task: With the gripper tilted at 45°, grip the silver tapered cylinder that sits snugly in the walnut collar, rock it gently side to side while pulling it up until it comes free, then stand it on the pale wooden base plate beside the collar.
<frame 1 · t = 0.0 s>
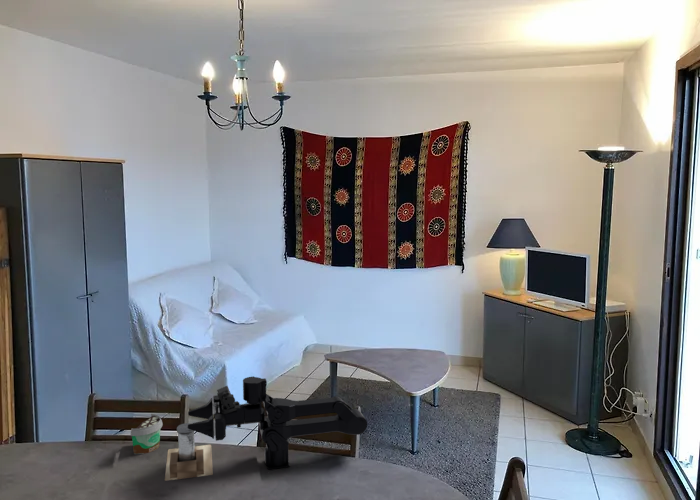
hand: (188, 419, 161), 17 cm above the table, tool horizontal, fingers open, 9 cm apart
food container: (151, 452, 177), on the table
silver tapered cylinder: (187, 469, 163), point 1 cm above the table, touching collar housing
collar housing: (187, 474, 163), on the table
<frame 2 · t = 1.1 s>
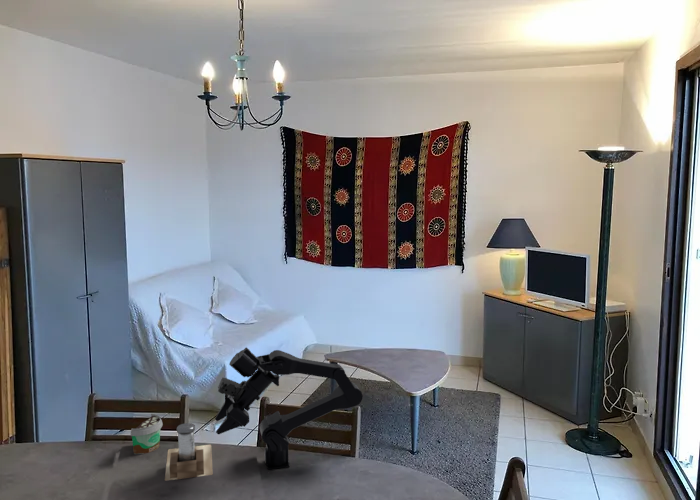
hand: (216, 426, 164), 14 cm above the table, tool tilted 45°, fingers open, 9 cm apart
nothing on the table moved.
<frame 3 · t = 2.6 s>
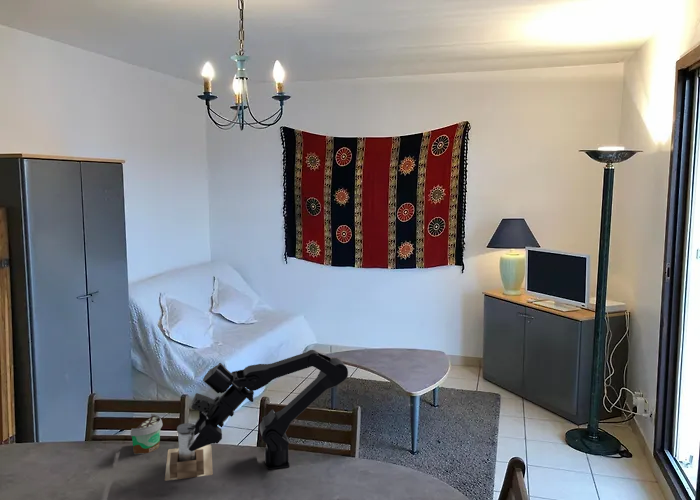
hand: (190, 442, 162), 10 cm above the table, tool tilted 45°, fingers open, 9 cm apart
nothing on the table moved.
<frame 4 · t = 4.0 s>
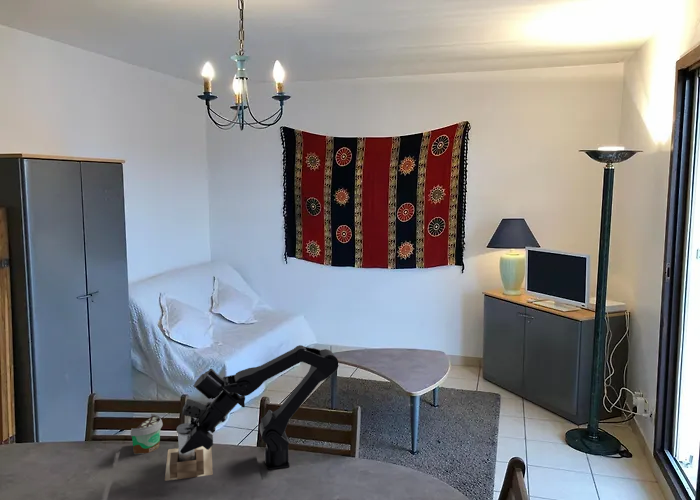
hand: (181, 448, 162), 8 cm above the table, tool tilted 45°, fingers closed on silver tapered cylinder, 4 cm apart
silver tapered cylinder: (187, 469, 163), point 2 cm above the table, touching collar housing, gripper
everything else where it was.
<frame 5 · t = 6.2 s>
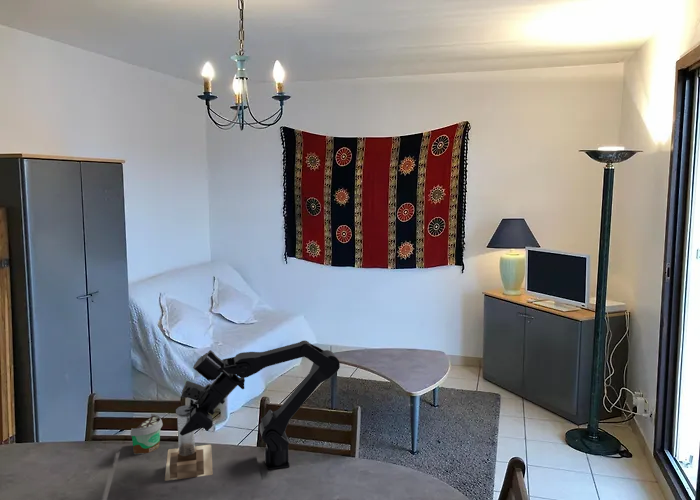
hand: (181, 430, 161), 13 cm above the table, tool tilted 45°, fingers closed on silver tapered cylinder, 4 cm apart
silver tapered cylinder: (186, 452, 162), point 7 cm above the table, touching gripper
everything else where it was.
when the fingers open (9 cm above the table, at t = 8.5 s): silver tapered cylinder stays where it is, resting on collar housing.
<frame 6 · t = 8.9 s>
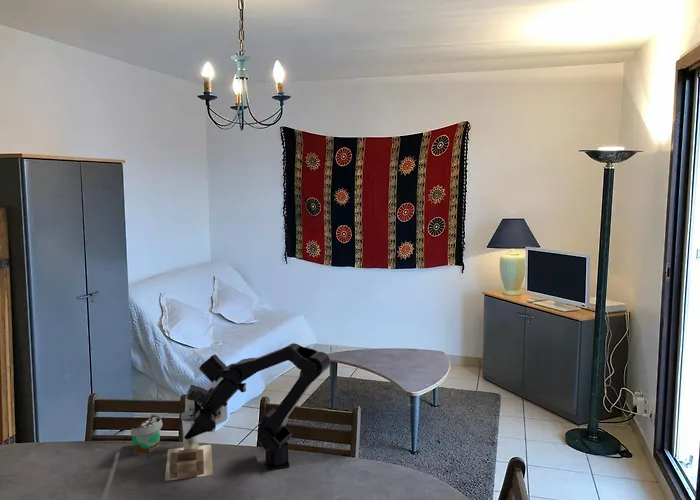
hand: (185, 431, 171), 9 cm above the table, tool tilted 45°, fingers open, 9 cm apart
silver tapered cylinder: (191, 454, 172), point 2 cm above the table, touching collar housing
everything else where it was.
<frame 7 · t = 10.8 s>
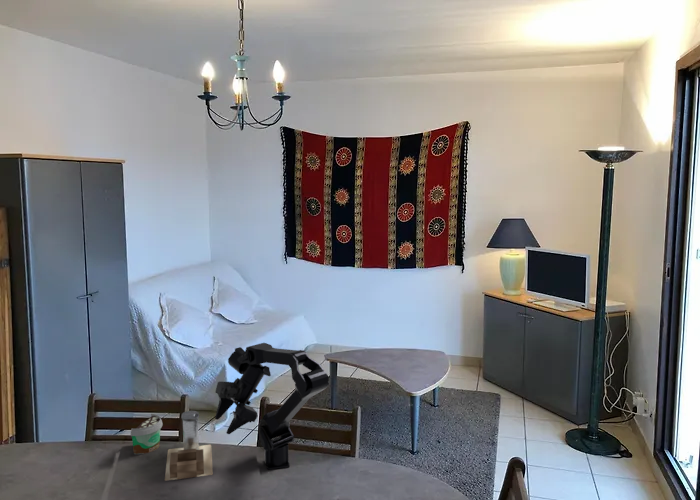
hand: (221, 426, 172), 10 cm above the table, tool tilted 35°, fingers open, 9 cm apart
nothing on the table moved.
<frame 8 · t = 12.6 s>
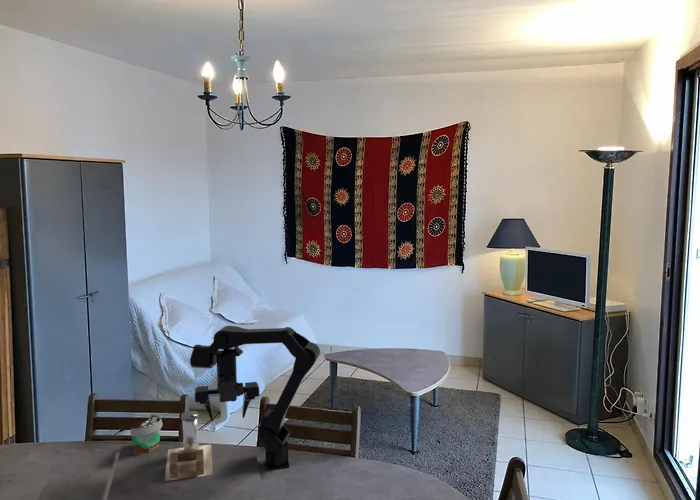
hand: (227, 419, 170), 13 cm above the table, tool pointing down, fingers open, 9 cm apart
nothing on the table moved.
at the end: silver tapered cylinder inside the target area (0.7 cm from its centre), point 1.5 cm above the table; silver tapered cylinder tilted 0°; the gripper is holding nothing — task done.
